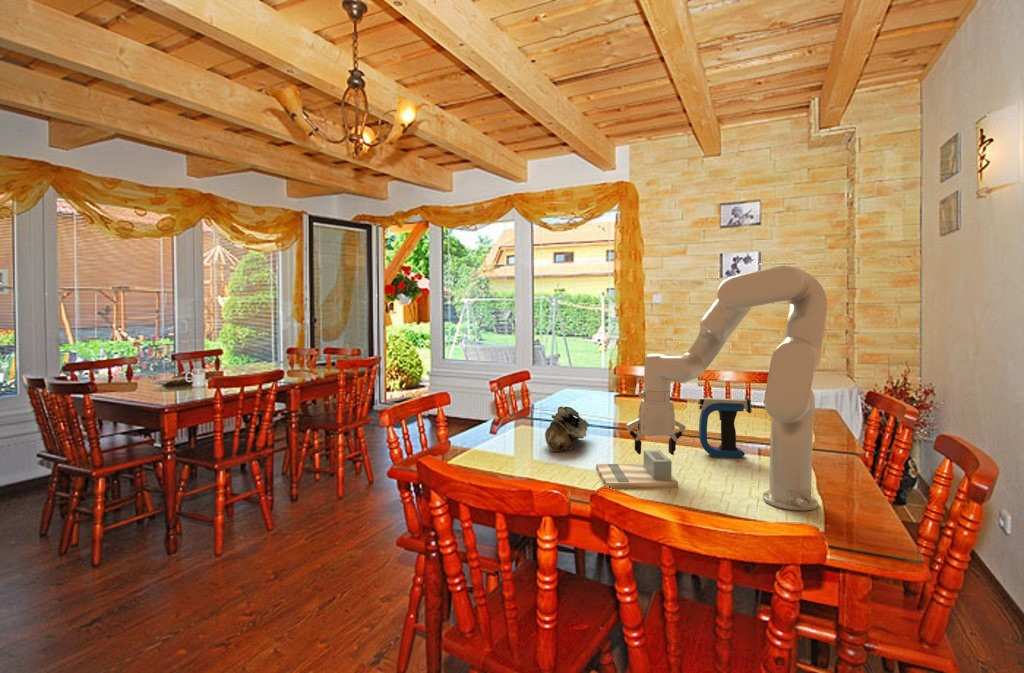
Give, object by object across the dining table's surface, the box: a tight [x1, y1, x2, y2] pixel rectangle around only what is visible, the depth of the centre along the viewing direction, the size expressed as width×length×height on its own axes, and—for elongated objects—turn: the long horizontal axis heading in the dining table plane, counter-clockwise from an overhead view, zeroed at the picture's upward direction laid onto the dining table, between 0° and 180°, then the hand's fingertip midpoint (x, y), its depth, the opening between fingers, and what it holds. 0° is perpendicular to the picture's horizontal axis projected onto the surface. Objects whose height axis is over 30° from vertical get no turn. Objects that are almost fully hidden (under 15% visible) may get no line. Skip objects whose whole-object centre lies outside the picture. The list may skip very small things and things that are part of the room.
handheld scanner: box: [698, 397, 753, 459], centre depth 182 cm, size 5×16×20 cm, turn 78°
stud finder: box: [642, 449, 673, 479], centre depth 161 cm, size 12×5×5 cm, turn 0°
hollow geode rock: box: [544, 406, 590, 453], centre depth 200 cm, size 28×13×15 cm
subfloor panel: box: [595, 463, 679, 489], centre depth 161 cm, size 18×20×2 cm
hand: (654, 453), depth 161 cm, fingers open, 9 cm apart
